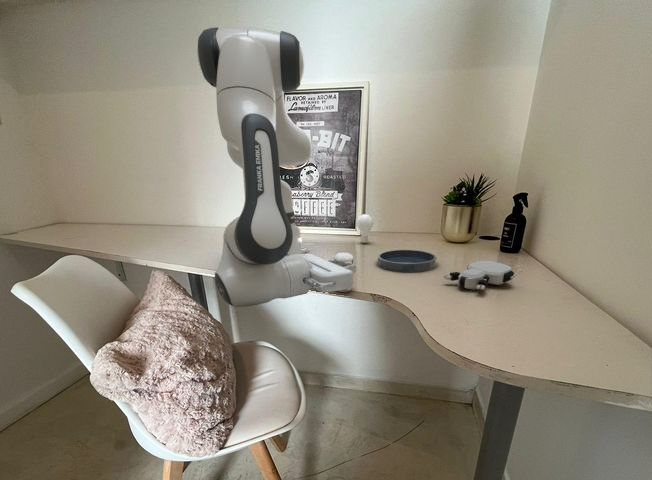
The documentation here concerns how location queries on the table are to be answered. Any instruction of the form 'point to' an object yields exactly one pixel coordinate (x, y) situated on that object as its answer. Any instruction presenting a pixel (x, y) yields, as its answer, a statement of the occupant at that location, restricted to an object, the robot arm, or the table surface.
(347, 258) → the salt shaker
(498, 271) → the robot toy
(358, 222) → the lightbulb
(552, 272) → the table surface
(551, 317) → the table surface
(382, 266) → the blue round tray
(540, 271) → the table surface
